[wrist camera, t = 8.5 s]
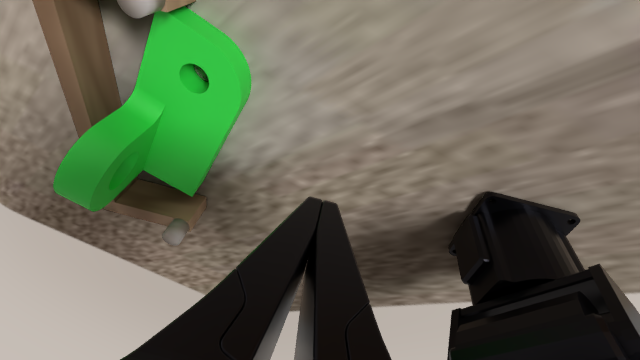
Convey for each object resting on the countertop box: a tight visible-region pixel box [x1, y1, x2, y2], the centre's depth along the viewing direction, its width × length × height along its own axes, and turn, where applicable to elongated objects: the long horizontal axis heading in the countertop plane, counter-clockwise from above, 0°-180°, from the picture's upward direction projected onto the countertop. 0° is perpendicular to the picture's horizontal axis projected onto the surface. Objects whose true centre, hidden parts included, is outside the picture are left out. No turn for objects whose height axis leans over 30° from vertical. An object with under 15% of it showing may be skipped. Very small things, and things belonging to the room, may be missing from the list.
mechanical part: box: [53, 6, 251, 212], centre depth 19 cm, size 12×6×8 cm, turn 147°
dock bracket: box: [32, 0, 207, 245], centre depth 21 cm, size 7×18×4 cm, turn 169°
